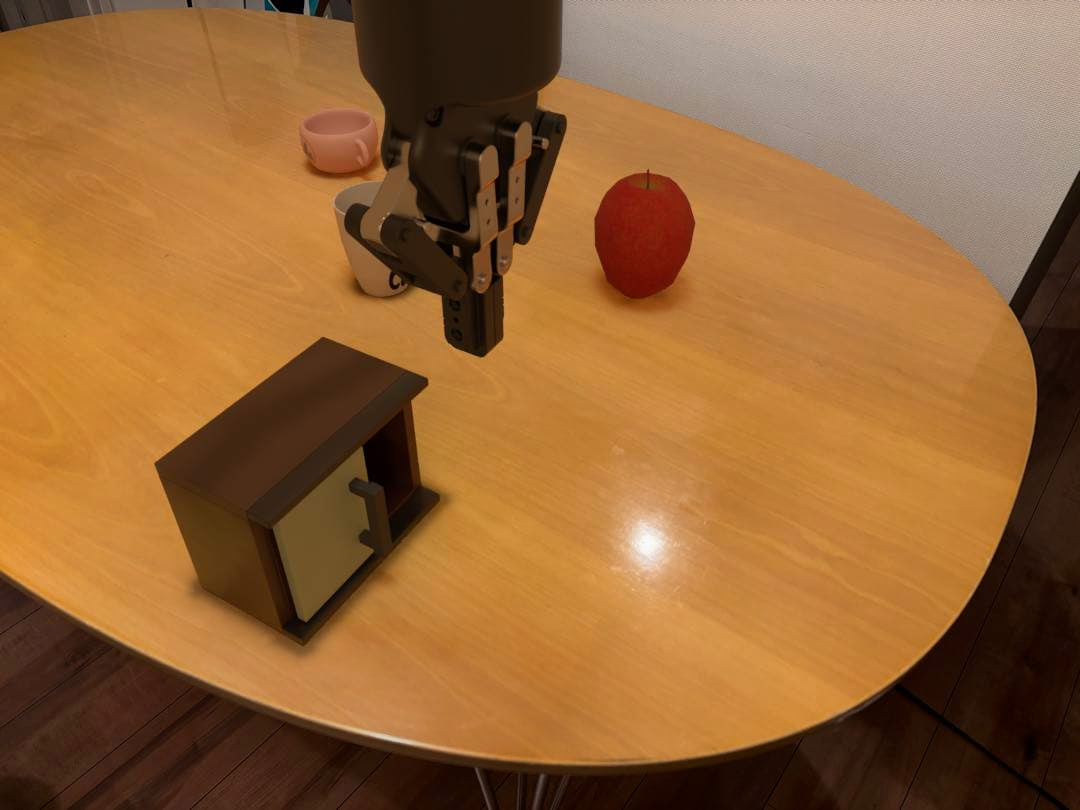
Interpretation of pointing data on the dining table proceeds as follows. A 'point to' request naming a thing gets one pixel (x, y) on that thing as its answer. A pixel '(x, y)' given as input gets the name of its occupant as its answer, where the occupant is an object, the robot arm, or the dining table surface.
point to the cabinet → (293, 473)
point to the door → (332, 534)
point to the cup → (362, 262)
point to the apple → (643, 234)
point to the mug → (339, 139)
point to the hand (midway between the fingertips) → (476, 344)
